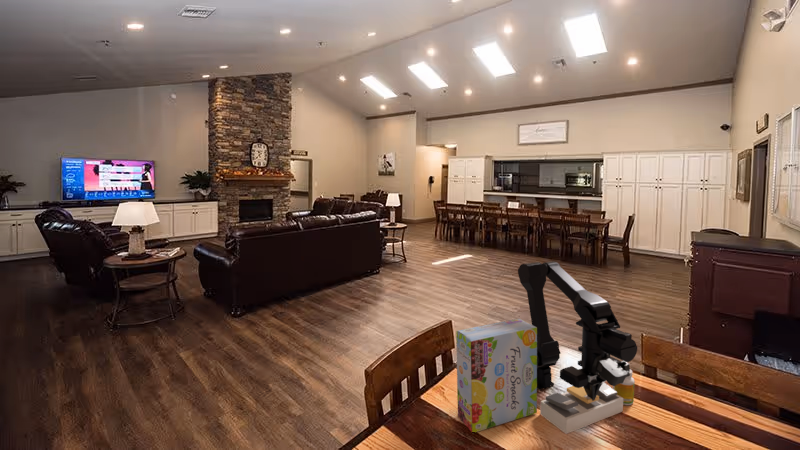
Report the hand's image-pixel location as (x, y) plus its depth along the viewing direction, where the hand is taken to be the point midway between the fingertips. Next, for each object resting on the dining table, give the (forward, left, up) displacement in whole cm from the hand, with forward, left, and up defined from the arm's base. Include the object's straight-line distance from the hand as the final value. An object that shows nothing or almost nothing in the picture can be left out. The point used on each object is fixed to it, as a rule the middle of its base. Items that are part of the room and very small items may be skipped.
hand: (591, 400), depth 102 cm
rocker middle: (-3, 0, 0) cm, 3 cm away
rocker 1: (-3, -8, 0) cm, 9 cm away
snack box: (-13, -22, -6) cm, 26 cm away
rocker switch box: (-3, 0, -6) cm, 6 cm away
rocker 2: (-3, +8, 0) cm, 8 cm away
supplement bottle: (-2, +16, -6) cm, 17 cm away
